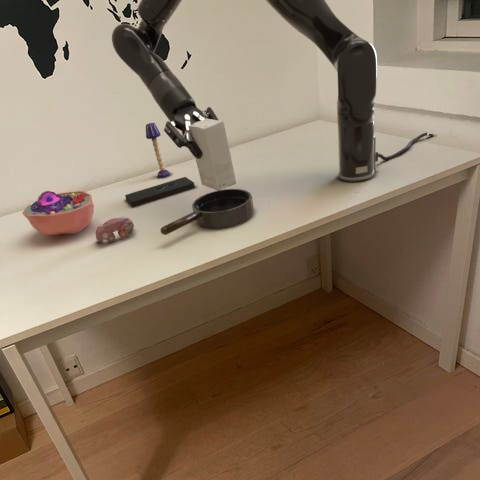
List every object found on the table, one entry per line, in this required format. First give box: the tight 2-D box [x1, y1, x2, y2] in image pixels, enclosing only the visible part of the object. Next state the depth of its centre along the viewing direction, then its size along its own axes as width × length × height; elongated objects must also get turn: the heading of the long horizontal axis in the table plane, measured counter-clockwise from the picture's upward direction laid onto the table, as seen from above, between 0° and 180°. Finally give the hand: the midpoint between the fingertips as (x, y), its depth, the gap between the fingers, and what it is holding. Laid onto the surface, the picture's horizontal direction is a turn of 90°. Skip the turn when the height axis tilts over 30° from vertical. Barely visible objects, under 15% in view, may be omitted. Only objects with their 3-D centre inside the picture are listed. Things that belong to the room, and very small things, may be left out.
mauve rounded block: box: [95, 215, 135, 243], centre depth 120 cm, size 10×5×7 cm, turn 118°
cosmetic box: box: [189, 119, 237, 191], centre depth 114 cm, size 8×6×15 cm
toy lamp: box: [145, 122, 171, 179], centre depth 155 cm, size 5×5×17 cm
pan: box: [191, 188, 255, 230], centre depth 122 cm, size 15×15×4 cm
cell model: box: [21, 190, 95, 236], centre depth 128 cm, size 17×20×11 cm
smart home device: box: [124, 176, 196, 208], centre depth 145 cm, size 8×2×20 cm
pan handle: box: [160, 211, 202, 236], centre depth 114 cm, size 12×2×2 cm, turn 133°
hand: (211, 151), depth 114 cm, fingers closed on cosmetic box, 6 cm apart
